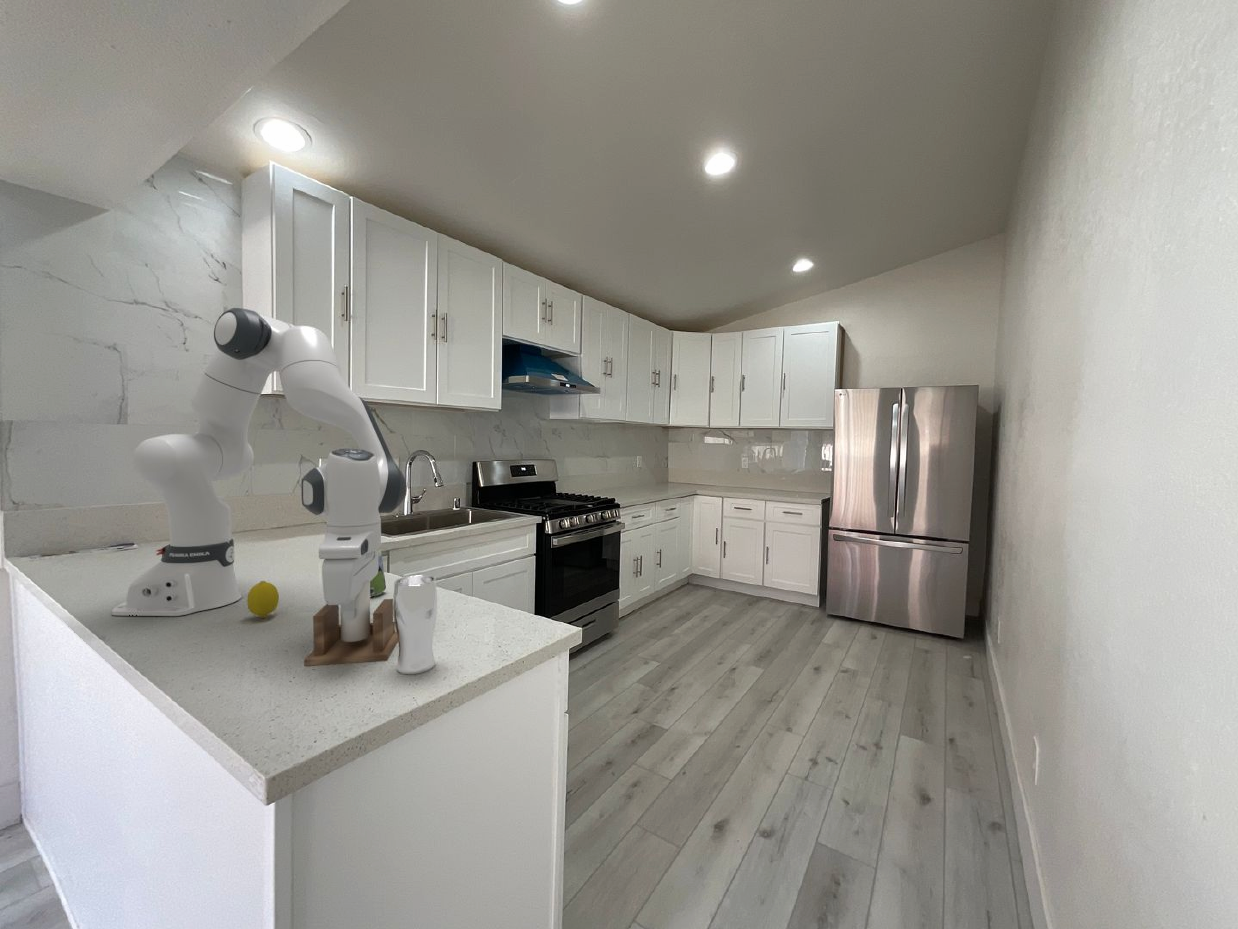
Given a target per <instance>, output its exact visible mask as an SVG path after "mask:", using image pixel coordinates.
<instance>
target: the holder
mask: <svg viewBox="0 0 1238 929" xmlns="http://www.w3.org/2000/svg"><path fill="white" fill-rule="evenodd" d="M339 606H340V605H328V604H327V603H326V604H325V605H324V606H323V607H322V608H321V609H319V611H317V612H316V613H315V614H314V615H313V616H312V617H313V619H312V621H313V622H312V623H313V626H312V627H313V650H312V651H311V652H310V653H309V654H308V655H307V656H306V657H305V658H304V659H303V664H304V665H303V666H319V665H321V666H323V665H336V664H350V663H351V664H352V663H362V662H363V663H364V662H365V663H367V662H380V661H388V659H389V658H390V656H391V654H392V652H393V650H394V649H395V646H396V645H397V644H398V643H399V642H398V636H397V632H396V627H395V621H394V613H393V598H385V599H383V600H382V601H381V603H379V605H378V606H377V607H376V609H375V610H374V611H373V612H372V622H370V636H369V637H368V638H366V639H363V640H360V641H354V642H346V641H342V640H341V624H340V611H339V610H340V607H339Z"/></svg>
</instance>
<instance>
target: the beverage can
mask: <svg viewBox="0 0 1238 929" xmlns="http://www.w3.org/2000/svg"><path fill="white" fill-rule="evenodd" d="M378 561H379V569H378V574H377V575H376V576H375V577H374V578H373V579H372V580H371V581H370V596H374V597H376V596H375V595H377V596H380V595H381V594H383V592H385V590H386V589H387V585H386V578H385V577H386V576H385V570H384V562H383V554H382V550H381V549H379V548H378Z"/></svg>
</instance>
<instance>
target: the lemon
mask: <svg viewBox="0 0 1238 929" xmlns="http://www.w3.org/2000/svg"><path fill="white" fill-rule="evenodd" d="M279 597H280V596H279V591H278V589H277V587H276V586H275V585H274V584H272V583H271V582H268V581H266V580H262V581H261V580H260V582H259V583H256V584H254V585H253V586H252V587H251V589H250V590H249V592H248V595H247V598H246V599H247V600H246V601H247V603H246V604H247V607H248V608H247V609H248V610H249V611H250V613H251V614H253V615H255V616H257V617H260V618H262V619H265V618H266V617H267V616H268V615H270V614H271V613H273V612H274V611H275V610H276V609H277V607H278V604H279V599H280V598H279Z"/></svg>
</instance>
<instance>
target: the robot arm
mask: <svg viewBox="0 0 1238 929" xmlns="http://www.w3.org/2000/svg"><path fill="white" fill-rule="evenodd" d="M213 340H214V342H215V345H216V347H217V348H216V350H215V351H214V353H213V355H212V356H211V359H209V362H208V363H207V366H206V367H205V369H204V371H203V374H202V376H201V378H200V381H199V383H198V384H197V387H196V389H195V392H194V393H193V396H192V399H191V400H190V401H191V405H190V406H191V407H192V409H193V411H194V413H196V415H198V417H199V422H198V424H199V425H198V429H197V431H196V432H194V433H169V434H164V435H163V434H162V435H159V436H155V437H151V438H147V439H144V440H143V441H142V442H140V443H139V445H138V446H137V447H136V448H135V451H134V454H133V465H134V468H135V471H136V472H137V474H138V475H139V476H140V477H141V478H142V479H144V480H145V481H147V482H149V483H150V484H151V485H152V486H154V488H155V489H156V490H157V492H158V493H159V494H160V496H161V498H162V500H163V502H164V506H165V507H166V512H167V516H168V517H167V519H168V520H167V521H168V532H169V533H168V534H169V535H168V536H169V544H168V545H165V546H164V547H162V548H160V549H157V550H156V554H155V555H156V556H159V555H161V559H160V562H158V563H157V564H156V565H154V566H152V567H151V568H150V569H148V570H147V571H146V572H144V573H143V574H141V575H139V576H138V577H137V578H135V579H134V580H133V581H132V582H131V583H130V585H129V586H128V590H127V593H126V600H125V601H124V602H122V603H119V604H118V605H116V606H114V607H113V609H112V613H111V615H112V616H129V615H130V617H131V616H132V615H133V617H134V616H136V615H137V617H138V616H140V617H141V616H143V617H144V616H145V617H146V616H147V617H150V616H151V617H152V616H153V617H155V616H156V617H157V616H158V617H180V616H184V615H190V614H193V613H197V612H201V611H207V610H211V609H215V608H219V607H223V606H227V605H230V604H233V603H234V602H237V601H239V600H240V599H241V598H242V594H241V592H240V589H239V586H238V583H237V578H236V572H235V567H234V566H235V565H234V563H235V541H234V539H233V538H232V515H231V514H232V513H231V512H232V510H231V508H230V505H229V504H228V503H227V502H225V501H224V500H221V499H220V498H219V496H218V495H217V493H216V490H215V489H214V485H213V481H223V480H230V479H232V478H233V479H234V478H235V477H238V476H241V475H242V474H245V473H247V472H248V471H249V470H250V469H251V467H252V466H253V464H254V460H255V454H254V450H253V448H252V446H251V444H250V443H249V441H248V439H249V438H248V430H249V426H250V425H249V424H250V422H251V418H252V415H253V413H254V411H255V409H256V407H257V404H258V402H259V399H260V397H261V395H262V392H263V391H264V388H265V387H266V383H267V381H268V378H269V376H270V375H271V374H272V373H275V372H277V373H279V374H278V375H279V378H280V379H279V380H280V385H281V388H282V392H283V395H284V397H285V399H286V402H287V403H288V405H289V406H290V407H291V408H293V409H294V411H297V412H298V413H300V414H301V415H303V416H305V417H307V418H309V419H312V420H316V421H320V422H323V423H326V424H330V425H332V426H335V427H336V428H340V429H342V430H344V431H346V432H347V433H349V434H350V435H351V436H352V437H353V439H354V441H355V442H356V444H357V446H358V448H359V449H358V448H339V449H336V450H335V449H334V450H332V451H330V452H329V453H328V456H327V460H326V461H327V462H326V463H324V464H322V465H320V466H318V467H313V468H312V469H311V470H309V471H308V472H307V473H306V474H305V475H303V477H302V478H301V504H302V506H303V508H305V509H306V510H308V511H309V512H310V513H311V514H313V515H315V516H322V517H327V519H326V524H325V529H326V530H325V534H324V539H323V541H322V542H321V543H320V545H319V547H318V558H319V560H323V561H322V567H321V577H322V591H323V597H324V598H323V599H324V601H325V603H326V604H328V605H339V606H340V609H341V608H342V611H343V620H344V621H352V620H354V618H355V617H356V608H355V603H354V601H355V597H356V596H357V595H358V594H359V593H360V592H361V591H362V589H363V584H365V583H366V582H367V581H368V580H369V581H371V580H372V579H373V578H374V577H375V576H376V575H377V574H378V569H379V561H378V549H379V548H380V547H381V546H382V520H381V515H380V514H392V513H393V512H394V511H395V510H397V508H399V506H400V505H401V504H402V503H403V502H404V500H405V499H406V496H407V490H408V487H407V482H406V479H405V476H404V474H403V472H402V471H401V469H400V468H399V466H398V465H397V463H396V461H395V460H394V458H393V457H392V454H391V452H390V449H389V448H388V445H387V443H386V440H385V439H384V436H383V434H382V432H381V429H380V427H379V425H378V423H377V421H376V419H375V417H374V415H373V413H372V411H371V409H370V407H369V405H368V404H367V402H366V401H365V399H363V398H361V397H359V395H357V394H356V393H355V392H354V391H353V390H352V389H351V387H349V385H348V384H347V382H346V381H345V379H344V378H343V374H342V371H341V370H342V369H341V367H340V364H339V361H338V357H337V355H336V352H335V349H334V347H333V345H332V343H331V341H330V340H329V338H328V336H327V335H326V334H325V333H324V332H323V331H321V330H320V329H318V328H317V327H313V326H310V325H294V324H292V323H290V322H287V321H284V320H280V319H276V318H274V317H271V316H267V315H264V314H260V313H258V312H257V311H254V310H251V309H248V308H247V309H246V308H241V307H232V308H229V309H227V310H226V311H224V312H223V313H222V314H221V315H220V316H219V317H218V319H217V320H216V322H215V326H214V330H213Z"/></svg>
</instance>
